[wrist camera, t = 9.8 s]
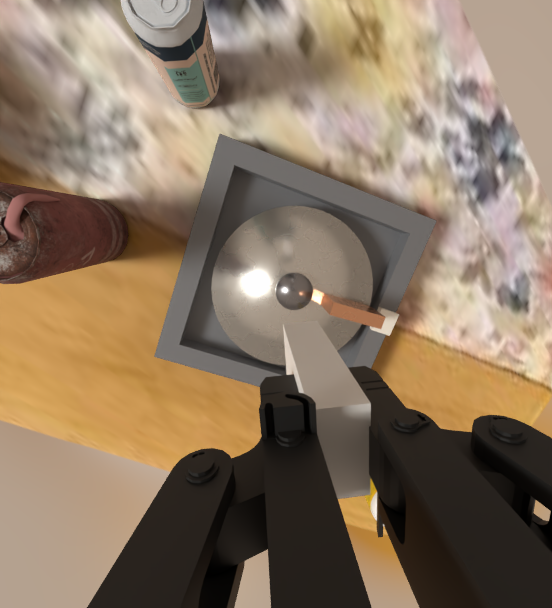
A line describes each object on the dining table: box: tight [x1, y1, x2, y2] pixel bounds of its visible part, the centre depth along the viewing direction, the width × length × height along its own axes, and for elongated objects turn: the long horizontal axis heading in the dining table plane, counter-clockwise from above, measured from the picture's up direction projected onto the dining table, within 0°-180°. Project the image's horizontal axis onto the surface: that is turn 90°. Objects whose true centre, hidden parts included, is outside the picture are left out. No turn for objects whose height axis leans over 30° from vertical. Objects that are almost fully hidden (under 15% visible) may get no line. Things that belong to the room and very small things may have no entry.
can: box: [0, 182, 128, 284], centre depth 25 cm, size 6×6×14 cm
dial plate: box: [154, 134, 436, 387], centre depth 33 cm, size 22×22×4 cm
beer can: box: [121, 0, 220, 108], centre depth 24 cm, size 5×5×12 cm
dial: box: [211, 206, 386, 365], centre depth 31 cm, size 16×16×6 cm
